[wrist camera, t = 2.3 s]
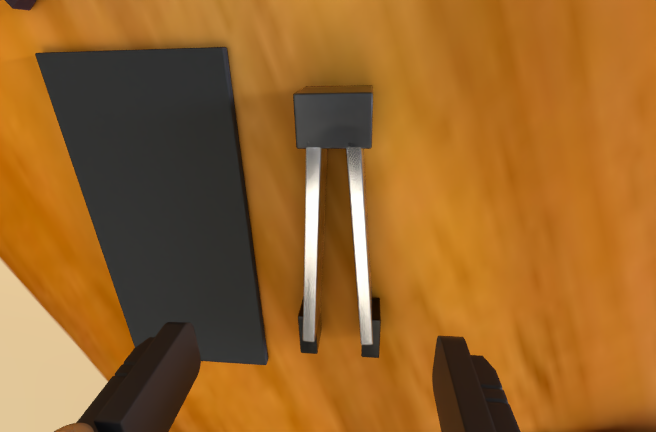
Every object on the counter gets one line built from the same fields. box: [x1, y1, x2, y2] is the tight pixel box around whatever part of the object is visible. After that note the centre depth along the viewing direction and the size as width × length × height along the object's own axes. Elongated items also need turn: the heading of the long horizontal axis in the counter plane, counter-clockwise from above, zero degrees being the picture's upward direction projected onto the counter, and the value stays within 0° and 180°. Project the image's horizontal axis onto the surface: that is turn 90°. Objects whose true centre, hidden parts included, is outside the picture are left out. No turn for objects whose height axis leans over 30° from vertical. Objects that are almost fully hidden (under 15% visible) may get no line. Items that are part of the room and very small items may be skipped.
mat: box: [35, 47, 268, 365], centre depth 22 cm, size 21×10×1 cm, turn 2°
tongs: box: [293, 85, 381, 358], centre depth 20 cm, size 16×5×3 cm, turn 2°
